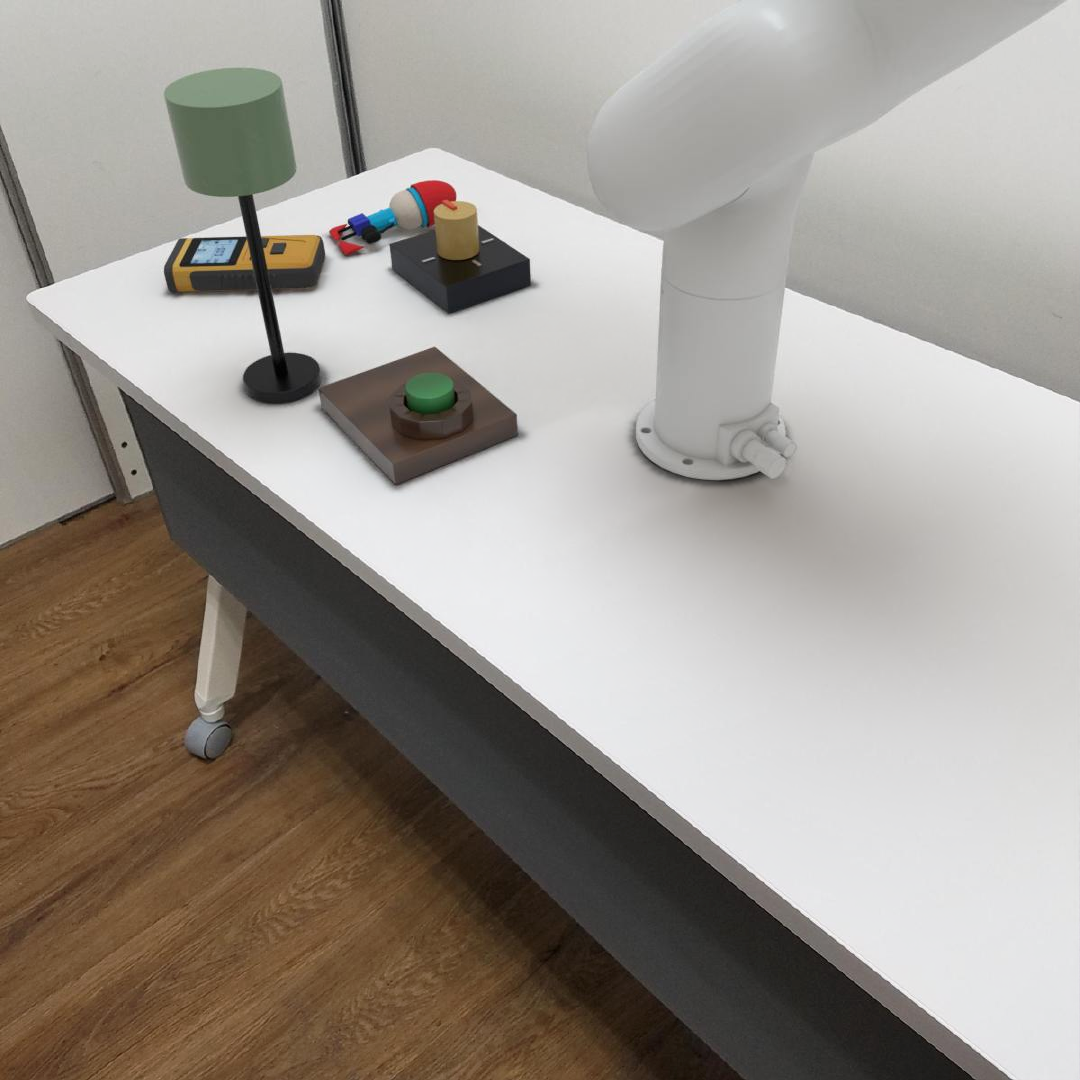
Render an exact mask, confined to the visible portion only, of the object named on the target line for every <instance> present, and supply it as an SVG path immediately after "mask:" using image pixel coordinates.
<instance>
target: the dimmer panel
mask: <svg viewBox="0 0 1080 1080" xmlns="http://www.w3.org/2000/svg"><path fill="white" fill-rule="evenodd" d="M478 234H479V252H478V254H477V255H475V256H474V257H471V258H468V259H464V260H448V259H445V258H442V257H441V256H439V254H438V252H437V242H436V231H435V229H434V230H433V229H432V230H430V231H427V232H424V233H420V234H417V235H414V236H410V237H407V238H404V239H401V240H398V241H394V242H391V243H389V244H388V245H389V253H390V261H391V262H390V263H391V270H392V271H393V272H395V273H396V274H397V275H398V276H399V277H401V278H402V279H404V280H405V281H406V282H407V283H409V284H410V285H412V287H414V288H416V290H418V291H419V292H420V293H421V294H423V295H424V296H425V297H427V298H428V299H429V300H431V301H432V302H433V303H434V304H436V305H437V306H438V307H440V308H441V309H442V310H443V311H445V312H446V313H447V314H451V313H455V312H457V311H460V310H464V309H467V308H469V307H472V306H475V305H478V304H480V303H485V302H486V301H489V300H493V299H496V298H498V297H501V296H504V295H507V294H510V293H513V292H516V291H519V290H522V289H524V288H527V287H530V286H532V284H531V283H532V280H531V275H532V274H531V259H530V257H528V256H526V255H524V254H523V253H522V252H520V251H518V250H517V249H516V248H513V246H511V245H509V244H508V243H506V242H505V241H504V240H502V239H500V238H498V237H497V236H495V235H494V234H492V233H491V232H490V231H488V230H486V229H485V228H483V227H482V226H481V225H479V224H478Z"/></svg>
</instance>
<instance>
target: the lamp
mask: <svg viewBox="0 0 1080 1080" xmlns="http://www.w3.org/2000/svg"><path fill="white" fill-rule="evenodd" d="M163 98H164V102H165V105H166V109H167V114H168V119H169V122H170V127H171V131H172V135H173V138H174V139H173V140H174V144H175V148H176V151H177V156H178V160H179V164H180V168H181V172H182V173H181V174H182V177H183V181H184V184H185V185H186V187H187V188H188V189H189V190H191V191H192V192H195V193H197V194H200V195H203V196H209V197H216V198H234V197H237V199H238V204H239V208H240V212H241V217H242V222H243V227H244V232H245V236H246V237H247V242H248V247H249V252H250V256H251V261H252V266H253V271H254V276H255V280H256V285H257V290H256V291H257V294H258V300H259V303H260V308H261V314H262V318H263V323H264V328H265V333H266V337H267V342H268V347H269V351H270V352H269V353H270V354H269V355H266V356H263V357H261V358H258V359H257V360H254V362H251V363H250V364H249V365H248V366H247V367H246V368H245V370H244V372H243V375H242V381H243V385H244V390H245V392H246V394H247V395H248V396H249V397H250V398H251V399H253V400H255V401H256V402H260V403H263V404H269V405H270V404H271V405H276V404H277V405H278V404H279V405H280V404H287V403H288V404H289V403H293V402H296V401H300V400H301V399H304V398H307V397H309V396H310V395H312V394H313V393H314V392H315V391H317V389H318V388H320V385H321V383H322V373H321V368H320V364H319V362H318V361H317V360H316V359H315V358H314V357H312V356H310V355H308V354H304V353H300V352H285V349H284V345H283V340H282V335H281V330H280V329H281V328H280V325H279V324H280V323H279V320H278V314H277V309H276V305H275V300H274V293H273V289H271V284H270V279H269V274H268V269H267V264H266V259H265V254H264V249H263V244H262V239H261V236H262V235H261V229H260V224H259V219H258V215H257V208H256V205H255V198H254V195H257V194H261V193H264V192H268V191H271V190H274V189H276V188H278V187H280V186H282V185H285V184H286V183H288V182H289V181H290V180H291V179H292V178H293V177H295V175H296V173H297V161H296V156H295V151H294V145H293V139H292V138H293V137H292V132H291V128H290V121H289V115H288V109H287V104H286V103H287V102H286V97H285V92H284V87H283V81H282V78H281V77H280V76H279V75H278V74H276V73H274V72H272V71H270V70H266V69H261V68H253V67H225V68H224V67H223V68H215V69H207V70H203V71H199V72H195V73H191V74H188V75H185V76H183V77H181V78H178V79H176V80H175V81H172V82H171V83H169V84H168V85H167V86H166V87H165V88H164V90H163Z"/></svg>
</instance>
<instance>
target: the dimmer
mask: <svg viewBox="0 0 1080 1080" xmlns="http://www.w3.org/2000/svg"><path fill="white" fill-rule="evenodd" d="M434 220H435V224H434V230H435V231H436V242H437V252H438V254H439V256H441V257H442V258H445V259H448V260H464V259H468V258H471V257H474V256H475V255H477V254H478V252H479V234H478V225H479V220H478V209H477V206H476V205H475V204H474V203H471V202H469V201H463V200H456V201H452V202H450V201H448V200H443V201H442V204H440V205H438V206H437V207H436V208H435V209H434Z"/></svg>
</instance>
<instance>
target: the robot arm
mask: <svg viewBox="0 0 1080 1080" xmlns="http://www.w3.org/2000/svg"><path fill="white" fill-rule="evenodd" d="M1067 1H1068V0H739V1H736V2H735V3H733V4H731V5H729V6H727V7H726V8H724V9H722V10H720V11H718V12H717V13H716V14H714V15H712V16H711V17H709V18H707V19H706V20H705V21H704V22H702V23H701V24H699V25H698V26H697V27H695V29H693V30H691V31H690V32H689V33H688V34H686V35H685V36H683V38H681V39H680V40H679V41H677V42H676V43H675V44H674V45H672V46H671V47H670V48H668V49H667V50H666V51H665V52H664V53H662V54H661V55H660V56H659V57H657V58H656V59H655V60H653V61H652V62H651V63H650V64H648V65H647V66H646V67H645V68H643V69H642V70H640V72H638V73H637V74H636V75H634V76H633V77H632V78H630V79H629V80H628V81H626V83H625V84H623V85H622V86H621V87H619V89H617V90H616V91H615V92H614V93H613V94H612V95H611V96H610V97H608V99H607V100H606V101H605V103H604V104H603V106H602V107H601V108H600V110H599V111H598V113H597V115H596V117H595V119H594V121H593V124H592V127H591V129H590V133H589V136H588V142H587V148H586V167H587V174H588V178H589V182H590V185H591V188H592V190H593V192H594V195H595V197H596V198H597V200H598V202H599V203H600V204H601V205H602V207H603V208H604V209H605V210H606V211H607V212H608V213H609V214H610V215H611V216H612V217H614V219H616V220H618V221H619V222H620V223H622V224H624V225H626V226H628V227H631V228H634V229H636V230H640V231H645V232H664V238H663V244H662V252H661V253H662V257H661V258H662V259H661V269H660V270H661V271H660V287H659V289H660V291H659V312H658V335H657V353H656V354H657V355H656V376H655V377H656V379H655V398H654V399H653V400H650V402H648V403H647V404H646V405H645V406H644V407H643V408H642V409H641V410H640V412H639V414H638V416H637V418H636V423H635V440H636V442H637V445H638V447H639V449H640V451H642V453H643V455H645V456H646V457H647V458H648V459H649V460H650V461H651V462H652V463H654V464H656V465H657V466H659V467H660V468H661V469H664V470H666V471H669V472H670V473H673V474H676V475H680V476H683V477H686V478H692V479H695V480H696V479H697V480H706V481H707V480H708V481H724V480H726V481H727V480H735V479H739V478H745V477H748V476H750V475H753V474H757V473H759V472H760V473H762V474H764V475H765V476H766V477H768V478H769V479H772V480H774V479H776V478H778V477H779V476H781V474H782V473H784V470H785V469H786V466H787V459H786V458H790V457H791V456H793V454H794V453H795V452H796V450H797V443H796V442H795V441H793V440H792V439H790V438H789V437H787V436H786V435H787V430H786V424H785V423H784V420H783V418H782V417H781V415H780V407H778V406H777V405H776V404H774V403H773V402H772V396H773V395H772V394H773V387H774V379H775V370H776V363H777V355H778V347H779V339H780V331H781V324H782V323H781V322H782V316H783V315H782V314H783V309H784V308H783V307H784V300H785V299H784V298H785V292H786V290H785V289H786V282H787V278H788V273H789V266H790V265H789V263H790V256H791V249H792V242H793V235H794V229H795V224H796V220H797V219H796V218H797V214H798V210H799V206H800V202H801V199H802V194H803V191H804V188H805V186H806V185H805V184H806V182H807V178H808V175H809V172H810V170H811V166H812V162H813V159H814V155H815V153H817V152H819V151H821V150H823V149H826V148H827V147H829V146H831V145H833V144H835V143H839V142H840V141H842V140H844V139H845V138H848V137H850V136H852V135H854V134H856V133H858V132H859V131H862V130H864V129H865V128H867V127H869V126H870V125H872V124H874V123H875V122H877V121H878V120H880V119H881V118H883V117H885V115H887V114H888V113H890V111H893V110H894V109H895V108H896V107H898V106H899V105H900V104H902V103H904V102H906V101H907V100H908V99H909V98H911V97H913V96H914V95H915V94H917V93H919V92H920V91H922V90H924V89H925V88H927V87H929V86H930V85H932V84H933V83H935V82H937V81H938V80H940V79H942V78H943V77H945V76H947V75H949V74H951V73H953V72H954V71H956V70H957V69H960V68H961V67H963V66H965V65H966V64H969V62H972V61H973V60H975V59H977V58H978V57H980V56H981V55H982V54H984V53H986V52H987V51H989V50H990V49H992V48H993V47H995V46H997V45H998V44H1000V43H1001V42H1003V41H1005V40H1006V39H1008V38H1010V37H1011V36H1013V35H1015V34H1017V33H1018V32H1020V31H1021V30H1023V29H1025V28H1026V27H1028V26H1030V25H1031V24H1032V23H1033V24H1034V23H1035V22H1036V21H1038V20H1039V19H1041V18H1043V17H1044V16H1045V15H1047V14H1049V13H1051V12H1052V11H1053V10H1055V9H1056V8H1058V7H1060V6H1061V5H1062V4H1064V3H1065V2H1067Z"/></svg>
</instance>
